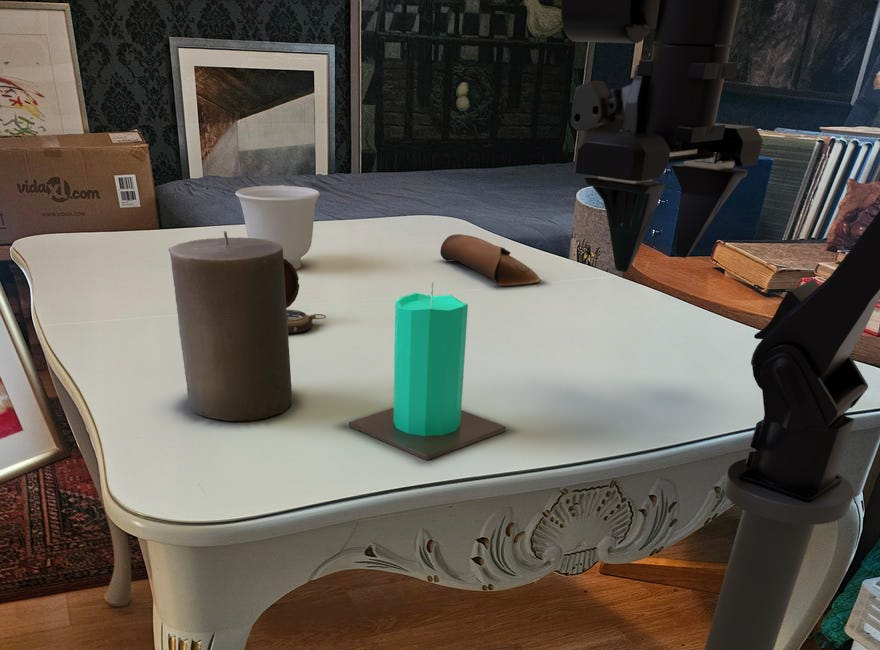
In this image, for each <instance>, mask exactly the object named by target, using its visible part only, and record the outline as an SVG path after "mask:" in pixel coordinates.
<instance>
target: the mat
mask: <svg viewBox="0 0 880 650" xmlns="http://www.w3.org/2000/svg"><path fill="white" fill-rule="evenodd" d="M393 417H394V407H392V408H389V409H385V410H383V411H379V412H377V413H374V414H370V415H367V416H363V417H361V418H357V419H354V420H352V421H348V427H349V428H352V429H354V430H356V431H359V432H360V433H364V434H365V435H368V436H370V437H372V438H374V439H377V440H380V441H382V442H384V443H386V444H388V445H391V446H393V447H394V448H398V449H400V450H402V451H405V452H406V453H409V454H412V455H413V456H416V457H418V458H421V459H422V460H426V461H429V460H432V459H435V458H437V457H439V456H443V455H446V454H448V453H451V452H453V451H456V450H459V449H462V448H464V447H467V446H469V445H472V444H475V443H477V442H480V441H483V440H485V439H488V438H491V437H493V436H496V435H498V434H501V433H504V432H506V431H507V426H505V425H503V424H500V423H497V422H495V421H492V420H489V419H487V418H484V417H481V416H479V415H476V414H473V413H471V412H469V411H465V410H462V409H461V422H460V426H459V427H458V428H457V430H456V431H454V432H451V433H448V434H445V435H438V436H421V435H414V434H408V433H406V432H404V431H401V430H399V429H397V428H396V426H395V424H394V422H393Z"/></svg>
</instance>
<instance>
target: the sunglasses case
mask: <svg viewBox="0 0 880 650" xmlns="http://www.w3.org/2000/svg"><path fill="white" fill-rule="evenodd" d="M439 253H440V256H441V258H442V259H443V260H445V261H448V262H449V261H455V262H459V263H460V264H463V266H464V265H465V266H466V267H469V268H472V269H473V270H475V271H476V272H478V273H481V274H482V275H484V276H486V277H488V278H490V279H491V280H494V281H495V283H496V284H497V286H499V287H521V286H528V285H533V284H537V283H540V282H541V281H542V280H541V278H540V277H539V275H538V274H537V273H536V272H535V271H534V270H533V269H532V268H530V267H529V266H528V265H526V264H524V263H523V262H522V261H520V260H518V259H516V258H515V257H513V256H511V251H509V250H508V249H506V248H505V247H503V246H500V245H496V244H493V243H491V242H488V241H487V240H485V239H482V238H479V237H476V236H472V235H468V234H461V233H460V234H458V233H455V234H451V235H449V236H447V237H446V238H445V239H444V241H443V242H442V244H441V246H440V252H439Z"/></svg>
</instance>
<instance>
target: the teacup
mask: <svg viewBox="0 0 880 650" xmlns="http://www.w3.org/2000/svg"><path fill="white" fill-rule="evenodd" d="M234 194H235V196H236V197H237V198H238V200H239V202H240V206H241V210H242V214H243V218H244V225H245V230H246V236H247V238H257V239H264V240H269V241H274V242H276V243H278V244H280V245H281V246H282V248H283V258H284V259H286V260H287V261H288V262H290V263H291V264H292V265H293V267H294V268H295V270H297V269H299V268H301V267H302V263H301V258H302V257H303V256H305V255H306V254H308V253H309V251H310V249H311V247H312V241H313V234H314V233H313V232H314V223H315V222H314V219H315V210H316V204H317V200H318V198H319V197H320V195H321V193H320V191H318V190H317V189H314V188H310V187H304V186H297V185H296V186H295V185H294V186H293V185H284V184H283V185H281V184H280V185H257V186H248V187H243V188H240V189H237V190H236V191H235V193H234Z"/></svg>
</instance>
